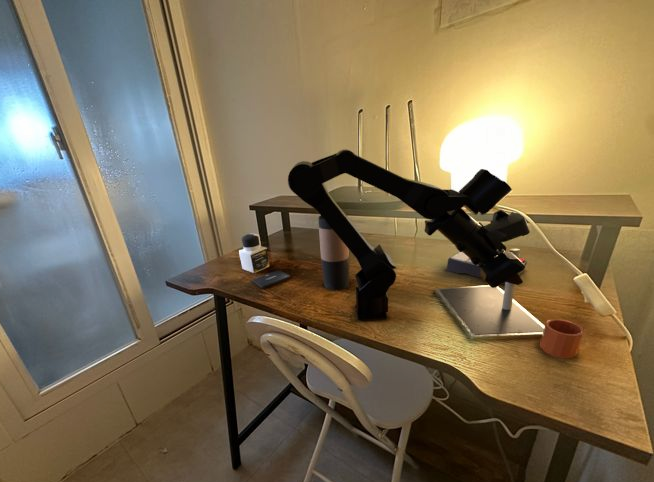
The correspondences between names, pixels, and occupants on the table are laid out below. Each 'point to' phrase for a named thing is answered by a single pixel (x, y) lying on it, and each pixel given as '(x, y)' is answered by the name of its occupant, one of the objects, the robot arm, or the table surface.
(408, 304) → the table surface
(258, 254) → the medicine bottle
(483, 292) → the tablet
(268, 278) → the solid state drive
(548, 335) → the pen pot
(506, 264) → the robot arm
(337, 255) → the travel mug
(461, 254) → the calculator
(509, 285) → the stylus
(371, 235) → the table surface
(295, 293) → the table surface
